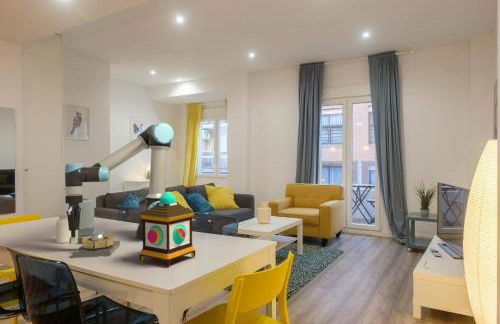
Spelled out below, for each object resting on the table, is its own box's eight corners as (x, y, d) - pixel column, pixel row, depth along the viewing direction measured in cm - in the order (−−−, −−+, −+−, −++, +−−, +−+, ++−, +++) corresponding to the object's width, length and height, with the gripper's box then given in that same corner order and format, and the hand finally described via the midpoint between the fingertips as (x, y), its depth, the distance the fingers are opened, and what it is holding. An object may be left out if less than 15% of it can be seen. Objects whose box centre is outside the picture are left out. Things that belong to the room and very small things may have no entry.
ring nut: (118, 242, 169) (118, 233, 169) (101, 249, 156) (101, 239, 156) (80, 240, 173) (80, 231, 173) (60, 246, 160) (60, 237, 160)
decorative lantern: (167, 251, 163) (167, 189, 163) (200, 257, 152) (199, 191, 152) (134, 262, 145) (134, 192, 145) (168, 269, 135) (167, 195, 135)
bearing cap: (119, 245, 175) (119, 229, 175) (109, 256, 155) (109, 237, 155) (87, 246, 172) (87, 230, 172) (72, 257, 152) (72, 239, 152)
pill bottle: (65, 243, 179) (65, 215, 179) (52, 243, 181) (52, 215, 181) (76, 240, 187) (75, 213, 187) (63, 239, 188) (63, 212, 188)
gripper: (70, 194, 170) (71, 240, 170) (60, 196, 157) (60, 247, 157) (86, 193, 171) (86, 240, 171) (77, 195, 158) (77, 246, 158)
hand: (74, 243), depth 164 cm, fingers closed
